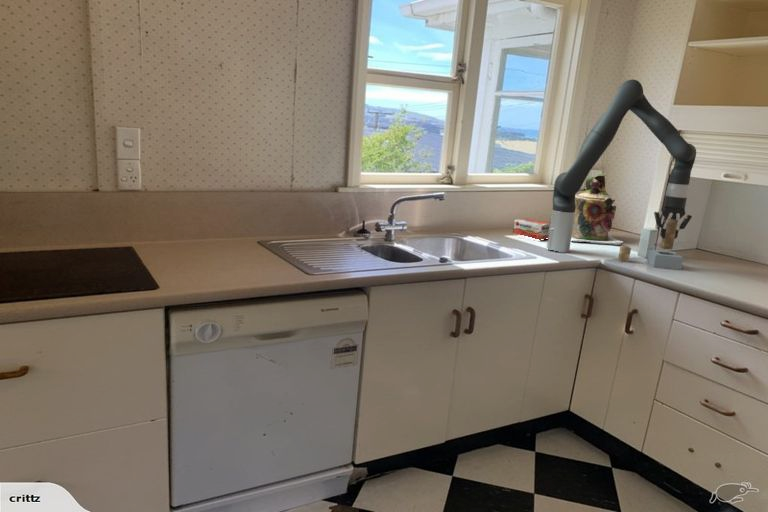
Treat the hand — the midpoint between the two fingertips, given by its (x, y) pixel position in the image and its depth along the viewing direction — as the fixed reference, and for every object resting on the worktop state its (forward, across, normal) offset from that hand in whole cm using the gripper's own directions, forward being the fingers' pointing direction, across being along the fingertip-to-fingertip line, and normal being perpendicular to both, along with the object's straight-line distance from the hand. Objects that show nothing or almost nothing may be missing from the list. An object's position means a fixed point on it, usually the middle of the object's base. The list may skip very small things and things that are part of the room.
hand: (668, 238), depth 217 cm
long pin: (+4, 0, 0) cm, 4 cm away
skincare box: (+11, -3, +15) cm, 19 cm away
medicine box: (+12, -50, +32) cm, 61 cm away
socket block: (+11, 0, 0) cm, 11 cm away
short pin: (+11, -15, +1) cm, 19 cm away
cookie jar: (+12, -22, +43) cm, 50 cm away
